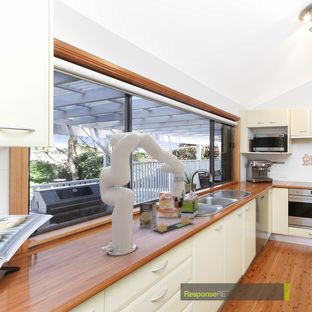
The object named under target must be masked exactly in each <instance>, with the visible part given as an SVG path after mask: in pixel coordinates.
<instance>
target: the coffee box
mask: <svg viewBox="0 0 312 312" xmlns="http://www.w3.org/2000/svg"><path fill="white" fill-rule="evenodd" d="M157 205H158V204H157V202H150V201H149V202H147V201H144V202H142V203H140V204H139V228H140V229H153V228H155V227H156V226H157Z"/></svg>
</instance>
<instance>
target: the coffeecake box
mask: <svg viewBox="0 0 312 312" xmlns="http://www.w3.org/2000/svg"><path fill="white" fill-rule="evenodd" d="M158 201H159V202H158V218H179V217H181V208H174V200H173V197H172V195H171V190H170V191H167V190H165V191H160V192H159V193H158ZM178 201H179V197H178Z"/></svg>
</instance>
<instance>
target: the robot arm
mask: <svg viewBox="0 0 312 312" xmlns="http://www.w3.org/2000/svg"><path fill="white" fill-rule="evenodd" d="M108 143H109V145H110V146H111V148H112V150H111V152H110V156H109V157H110V158H109V163H110V164H109V166H105V167H104V168H103V169H101V171H100V173H99V178H98V180H99V192H100V193H99V194H100V200H101V202H103V204H105V205H106V206H113V207H114V208H113V210H112V213H111V241H110V242H109V244H108V245H107V246H103V247H100V252H101V253H104V252H106V253H107V254H108V255H110V256H125V255H127V254H130V253H132V252H134V251H135V250H136V249H137V244H135V243H134V205H135V200H136V195H135V192H134V191H133V190H132V189H131V188H128V187H124V186H125V185H128V184H129V183H130V181H131V165H130V158H131V157H130V156H131V154H132V151H134V149H142V150H143V151H144V152H145V153H146V154H147V155H148V156H149V157H150V158H151V159H153V160H155V161H157V162H161V163H162V164H161V166H160V170H161V171H162V172H163V173H165V174H172V182H171V186H170V191H171V195H172V197H173V200H174V202H176V201H178V197H179V201H178V207H183V200H184V198H186V196H187V195H186V186H185V163H184V162H183V161H182V160H180V159H179V158H178V157H177V156H176V155H175V154H173V153H171V152H170V151H168V150H166V149H164V148H163V147H162V146H161V145H160V144H159V142H157V140H156V139H155V138H154V137H153V136H152V135H151V133H148V132H138V133H136V132H131V131H130V132H127V131H126V132H117V133H112V135H110V136H109V139H108ZM122 186H123V187H122Z"/></svg>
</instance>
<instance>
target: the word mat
mask: <svg viewBox="0 0 312 312" xmlns="http://www.w3.org/2000/svg"><path fill="white" fill-rule="evenodd" d="M192 225H194V223H193V222H190V218H187V217H184V218H181V217H180V222H178V223H174V224H171V225H168V224H167V223H164V222H162V223H158V224H157V229H153V230H152V232H154V233H157V234H160V235H164V234H167V233H170V232H173V231H176V230H179V229H183V228H186V227H189V226H192Z"/></svg>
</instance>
